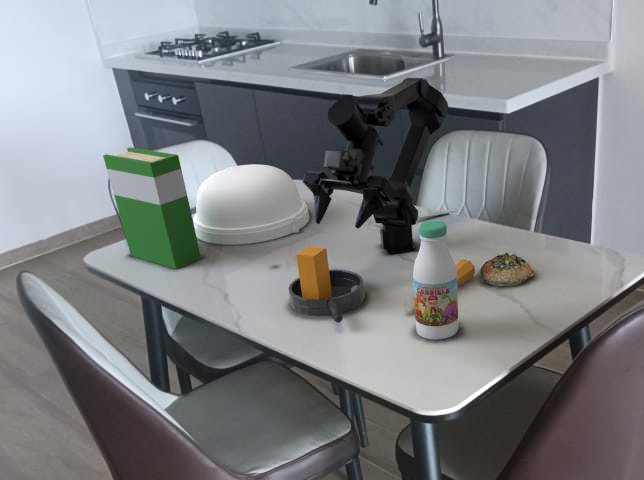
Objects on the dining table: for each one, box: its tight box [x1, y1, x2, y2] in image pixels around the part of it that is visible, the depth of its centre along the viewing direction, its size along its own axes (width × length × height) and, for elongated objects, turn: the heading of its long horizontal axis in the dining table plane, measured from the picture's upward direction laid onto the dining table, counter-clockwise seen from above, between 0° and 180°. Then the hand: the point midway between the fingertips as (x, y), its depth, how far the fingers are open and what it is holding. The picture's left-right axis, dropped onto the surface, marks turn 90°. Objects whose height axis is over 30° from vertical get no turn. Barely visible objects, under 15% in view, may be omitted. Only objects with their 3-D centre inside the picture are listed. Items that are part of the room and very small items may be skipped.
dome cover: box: [192, 163, 310, 246], centre depth 189 cm, size 32×30×14 cm
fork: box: [373, 208, 458, 229], centre depth 184 cm, size 3×24×2 cm, turn 122°
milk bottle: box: [412, 220, 459, 340], centre depth 128 cm, size 8×8×20 cm
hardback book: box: [102, 147, 202, 270], centre depth 170 cm, size 18×7×24 cm, turn 52°
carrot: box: [455, 259, 476, 288], centre depth 146 cm, size 20×4×4 cm, turn 142°
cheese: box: [295, 245, 332, 299], centre depth 142 cm, size 4×4×12 cm
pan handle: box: [328, 299, 344, 324], centre depth 137 cm, size 9×2×2 cm, turn 13°
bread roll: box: [480, 252, 535, 287], centre depth 150 cm, size 11×11×5 cm
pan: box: [288, 269, 366, 317], centre depth 146 cm, size 15×15×4 cm
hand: (336, 225), depth 145 cm, fingers open, 9 cm apart
